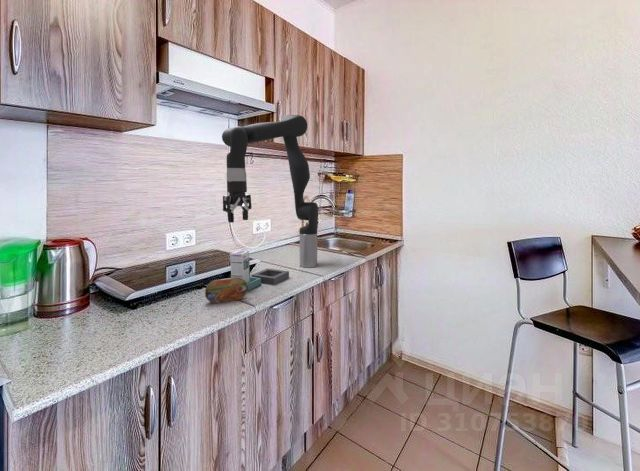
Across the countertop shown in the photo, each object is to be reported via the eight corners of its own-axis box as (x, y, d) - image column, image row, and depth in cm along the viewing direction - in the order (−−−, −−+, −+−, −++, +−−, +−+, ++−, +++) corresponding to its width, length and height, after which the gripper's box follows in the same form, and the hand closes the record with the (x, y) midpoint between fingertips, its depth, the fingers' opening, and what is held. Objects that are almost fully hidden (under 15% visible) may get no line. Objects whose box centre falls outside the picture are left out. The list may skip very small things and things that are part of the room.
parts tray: (239, 281, 137) (239, 274, 137) (261, 285, 132) (260, 278, 132) (220, 289, 127) (220, 282, 126) (243, 293, 122) (243, 286, 121)
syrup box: (244, 288, 126) (243, 253, 123) (231, 287, 127) (229, 252, 125) (250, 284, 131) (249, 250, 129) (238, 283, 133) (236, 250, 130)
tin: (206, 305, 111) (204, 282, 109) (205, 302, 113) (204, 279, 112) (248, 299, 116) (247, 277, 115) (246, 296, 119) (246, 275, 118)
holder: (267, 274, 148) (267, 268, 147) (289, 277, 143) (288, 271, 142) (251, 281, 137) (251, 274, 137) (274, 285, 132) (274, 278, 131)
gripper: (241, 180, 130) (242, 218, 133) (216, 180, 118) (218, 222, 120) (255, 180, 127) (256, 219, 130) (231, 180, 114) (233, 223, 117)
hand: (238, 221), depth 125 cm, fingers open, 8 cm apart
